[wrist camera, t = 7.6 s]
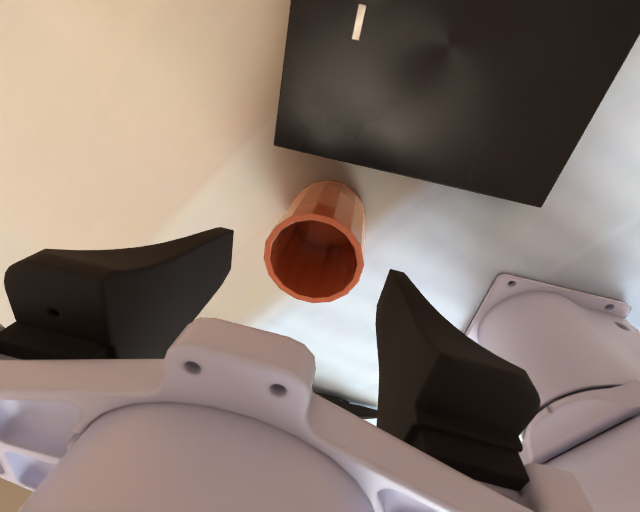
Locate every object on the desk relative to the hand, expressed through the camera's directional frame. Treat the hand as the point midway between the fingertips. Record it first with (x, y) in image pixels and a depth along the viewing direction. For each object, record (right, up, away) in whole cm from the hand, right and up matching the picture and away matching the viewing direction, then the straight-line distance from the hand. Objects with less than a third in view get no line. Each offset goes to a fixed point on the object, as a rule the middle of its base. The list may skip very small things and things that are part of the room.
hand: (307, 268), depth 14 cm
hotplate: (+7, +12, +3) cm, 14 cm away
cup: (+1, +3, +9) cm, 9 cm away
